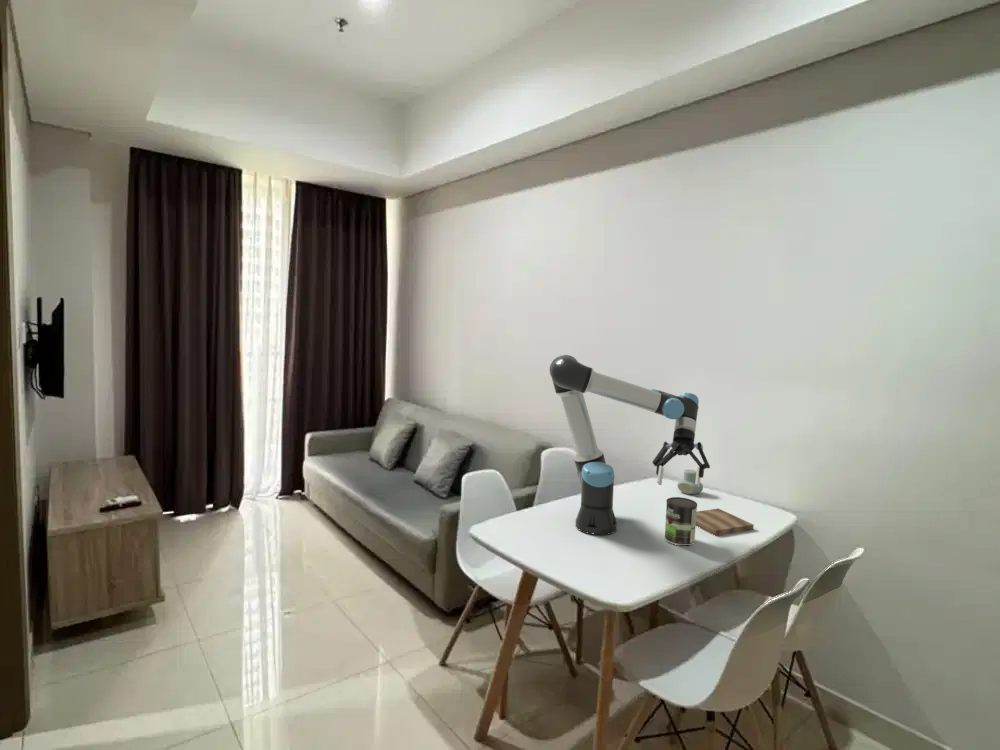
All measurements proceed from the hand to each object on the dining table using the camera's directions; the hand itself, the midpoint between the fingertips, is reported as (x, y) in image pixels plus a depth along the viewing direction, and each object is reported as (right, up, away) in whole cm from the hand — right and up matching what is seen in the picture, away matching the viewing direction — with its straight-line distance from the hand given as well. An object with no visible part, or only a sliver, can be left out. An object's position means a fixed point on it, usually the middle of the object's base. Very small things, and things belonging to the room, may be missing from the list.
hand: (677, 484), depth 195 cm
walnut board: (+19, -18, +13) cm, 29 cm away
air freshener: (+22, -14, +51) cm, 57 cm away
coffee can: (0, -19, -3) cm, 20 cm away
